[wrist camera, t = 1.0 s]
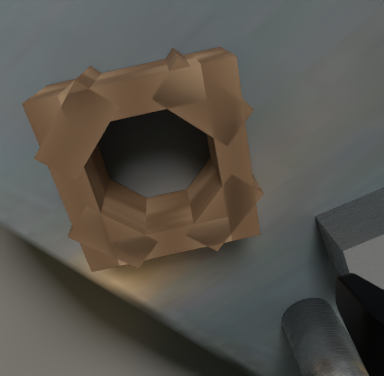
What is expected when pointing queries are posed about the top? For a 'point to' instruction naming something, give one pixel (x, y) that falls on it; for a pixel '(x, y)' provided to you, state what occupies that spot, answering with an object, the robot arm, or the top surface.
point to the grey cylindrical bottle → (320, 340)
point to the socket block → (129, 200)
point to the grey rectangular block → (356, 237)
